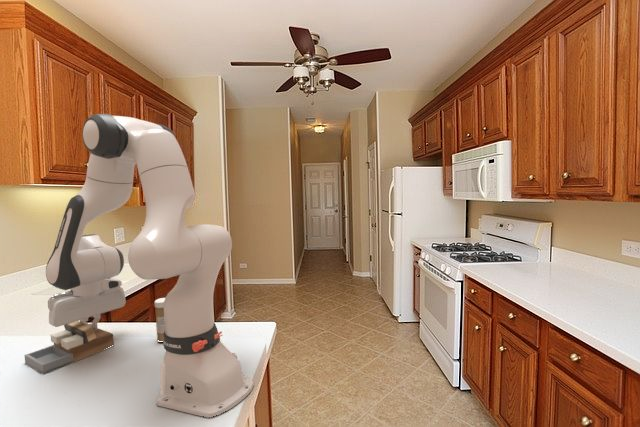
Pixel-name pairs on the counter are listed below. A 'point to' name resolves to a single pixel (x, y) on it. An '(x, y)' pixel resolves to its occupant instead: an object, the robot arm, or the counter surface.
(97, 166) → the robot arm
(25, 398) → the counter surface
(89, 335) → the tan wooden bar
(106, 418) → the counter surface
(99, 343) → the board
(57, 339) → the tile
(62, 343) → the tile
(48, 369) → the tray
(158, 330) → the sprinkles bottle
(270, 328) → the counter surface
